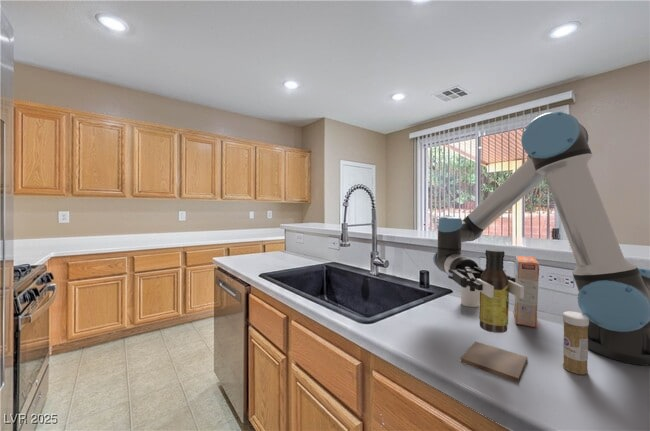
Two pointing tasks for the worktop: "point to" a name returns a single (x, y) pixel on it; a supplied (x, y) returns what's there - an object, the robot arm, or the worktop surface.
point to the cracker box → (526, 291)
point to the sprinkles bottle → (575, 342)
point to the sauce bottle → (495, 308)
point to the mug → (469, 297)
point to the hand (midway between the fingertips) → (507, 292)
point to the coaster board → (495, 361)
